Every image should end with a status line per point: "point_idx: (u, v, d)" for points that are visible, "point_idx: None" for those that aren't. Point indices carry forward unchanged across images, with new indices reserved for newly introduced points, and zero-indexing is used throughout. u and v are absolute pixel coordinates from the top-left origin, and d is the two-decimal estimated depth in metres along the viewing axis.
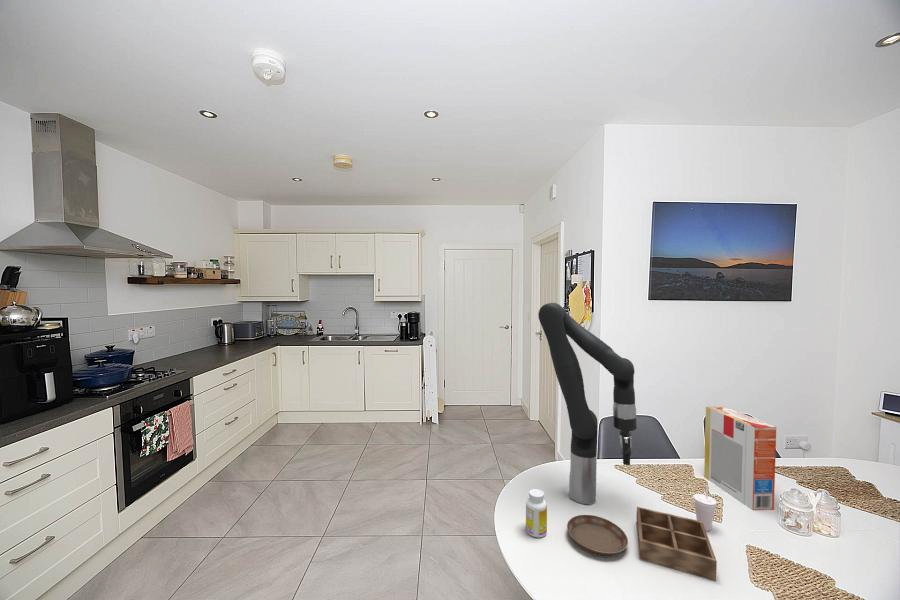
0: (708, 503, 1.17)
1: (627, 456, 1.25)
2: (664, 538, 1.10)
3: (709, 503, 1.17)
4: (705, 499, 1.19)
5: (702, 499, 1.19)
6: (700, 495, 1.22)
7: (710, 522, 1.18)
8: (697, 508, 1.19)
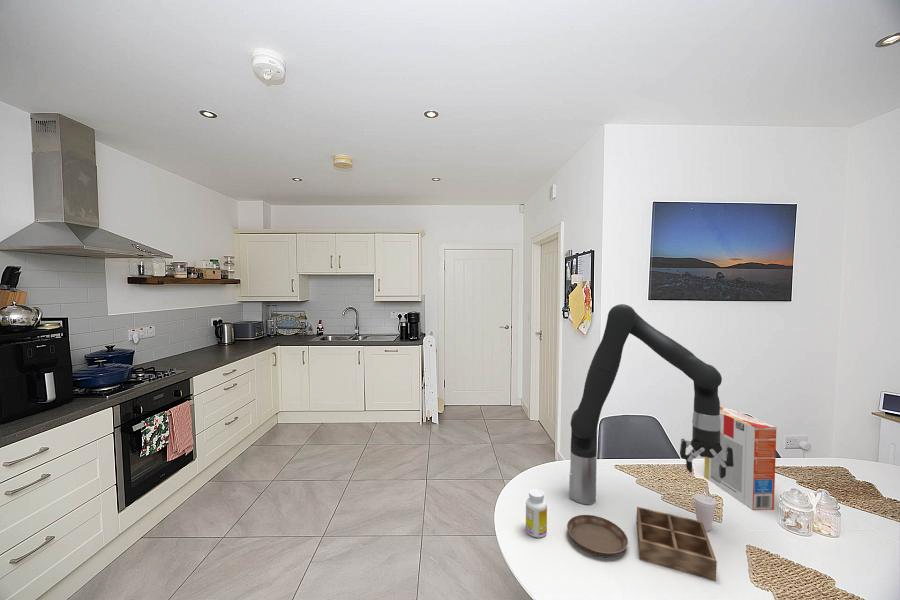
0: (708, 503, 1.17)
1: None
2: (664, 538, 1.10)
3: (709, 503, 1.17)
4: (705, 499, 1.19)
5: (702, 499, 1.19)
6: (700, 495, 1.22)
7: (710, 522, 1.18)
8: (697, 508, 1.19)
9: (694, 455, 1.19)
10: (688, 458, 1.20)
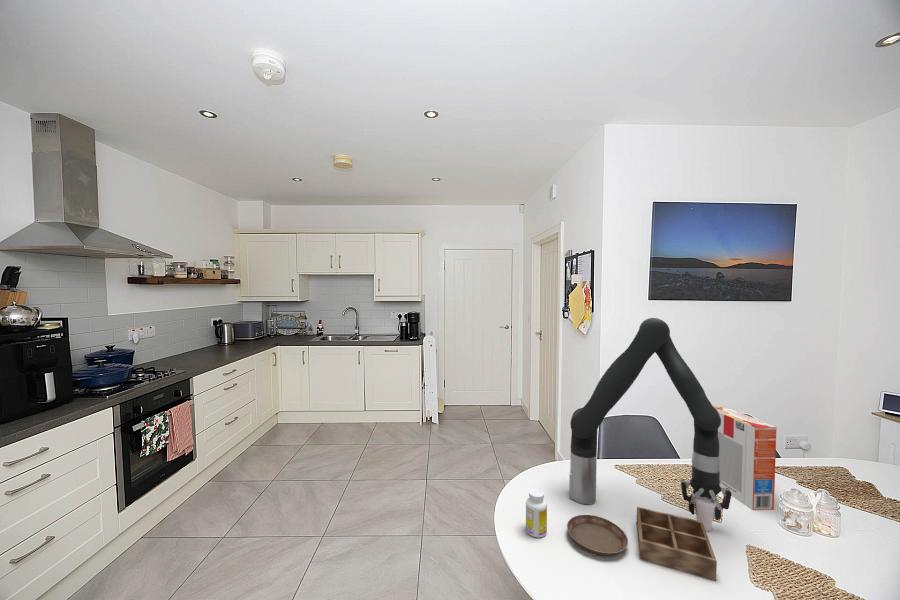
0: (708, 503, 1.17)
1: None
2: (664, 538, 1.10)
3: (709, 503, 1.17)
4: (705, 499, 1.19)
5: (702, 499, 1.19)
6: None
7: (710, 522, 1.18)
8: (697, 508, 1.19)
9: (695, 497, 1.19)
10: (690, 500, 1.20)
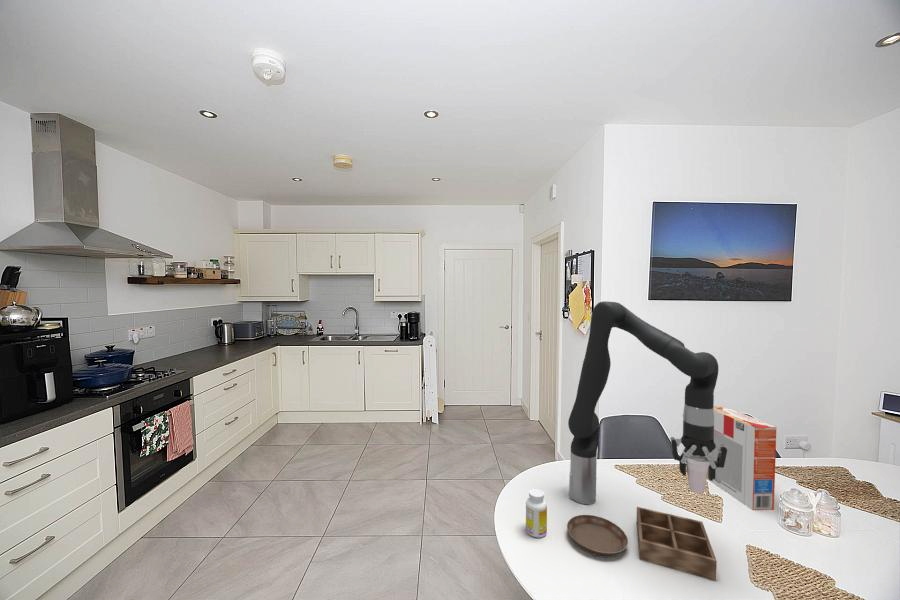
0: (701, 461, 1.04)
1: None
2: (664, 538, 1.10)
3: (702, 461, 1.04)
4: (698, 457, 1.06)
5: (694, 458, 1.06)
6: None
7: (703, 483, 1.05)
8: (689, 468, 1.06)
9: (687, 455, 1.06)
10: (681, 460, 1.07)
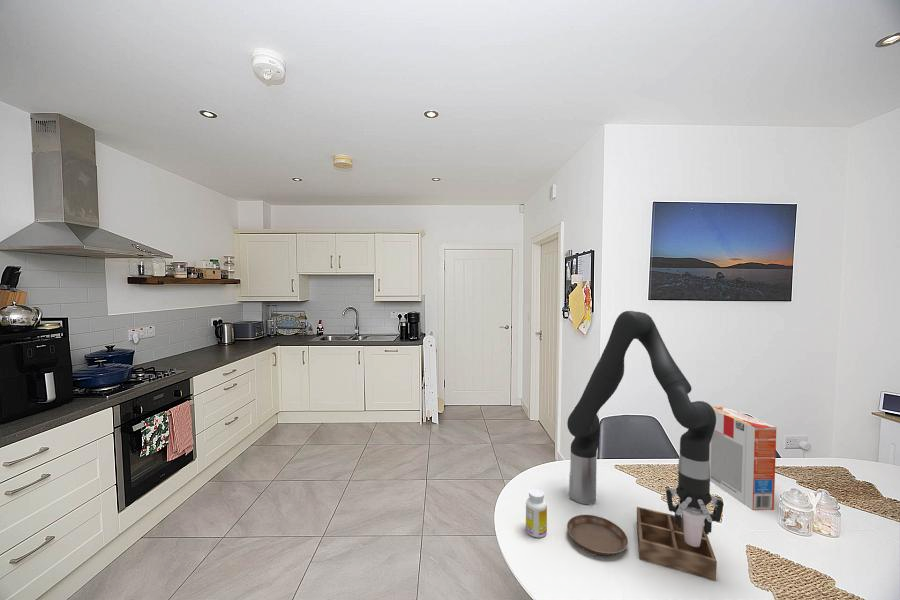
0: (696, 514, 1.01)
1: None
2: (664, 538, 1.10)
3: (698, 514, 1.01)
4: (693, 510, 1.03)
5: (690, 510, 1.03)
6: None
7: (699, 536, 1.02)
8: (684, 520, 1.04)
9: (682, 507, 1.04)
10: (676, 511, 1.05)
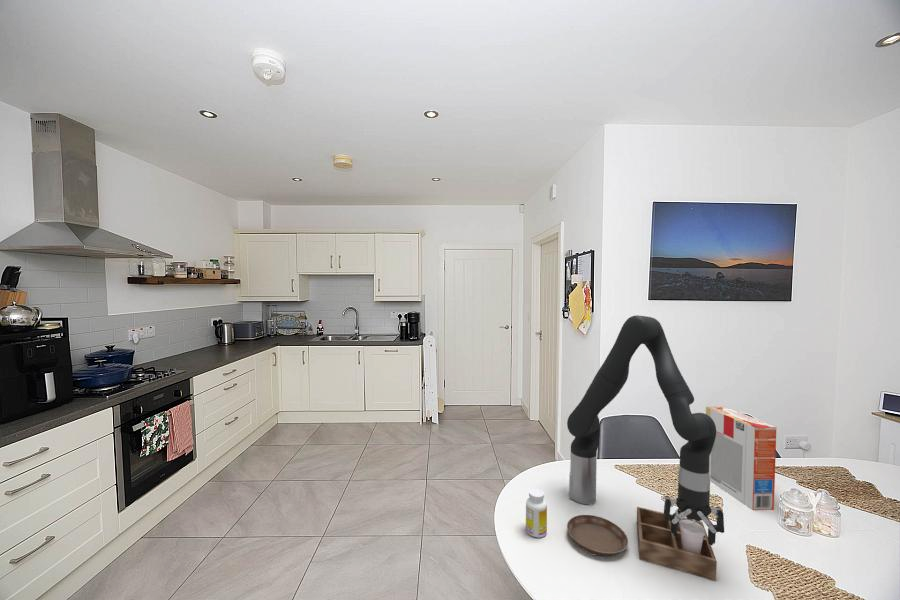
0: (695, 532, 1.02)
1: None
2: (664, 538, 1.10)
3: (697, 532, 1.02)
4: (692, 527, 1.03)
5: (689, 527, 1.04)
6: (687, 521, 1.06)
7: None
8: (683, 537, 1.04)
9: (679, 517, 1.04)
10: (673, 519, 1.05)
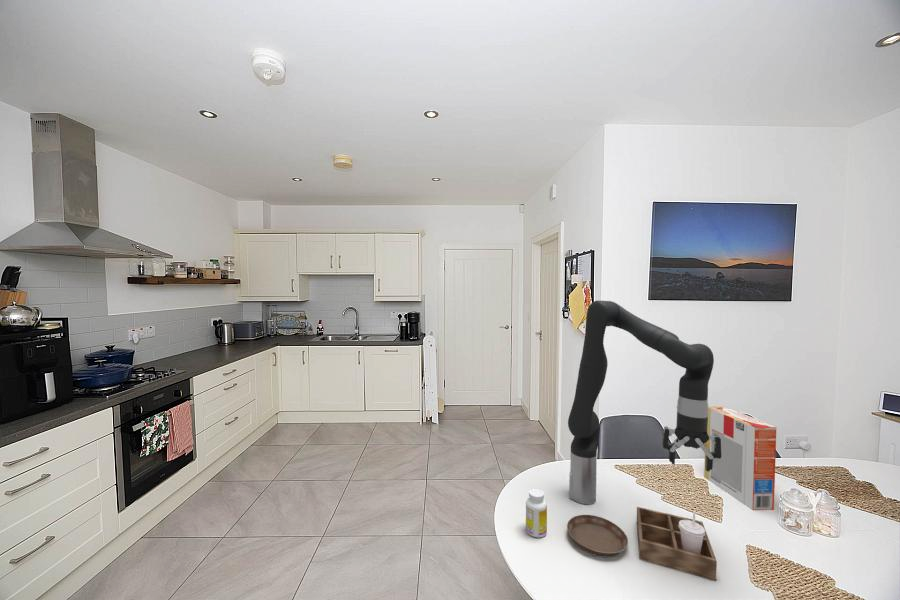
0: (695, 532, 1.02)
1: None
2: (664, 538, 1.10)
3: (696, 532, 1.02)
4: (692, 527, 1.04)
5: (689, 527, 1.04)
6: (686, 521, 1.06)
7: None
8: (683, 537, 1.04)
9: (677, 445, 1.06)
10: (671, 448, 1.07)
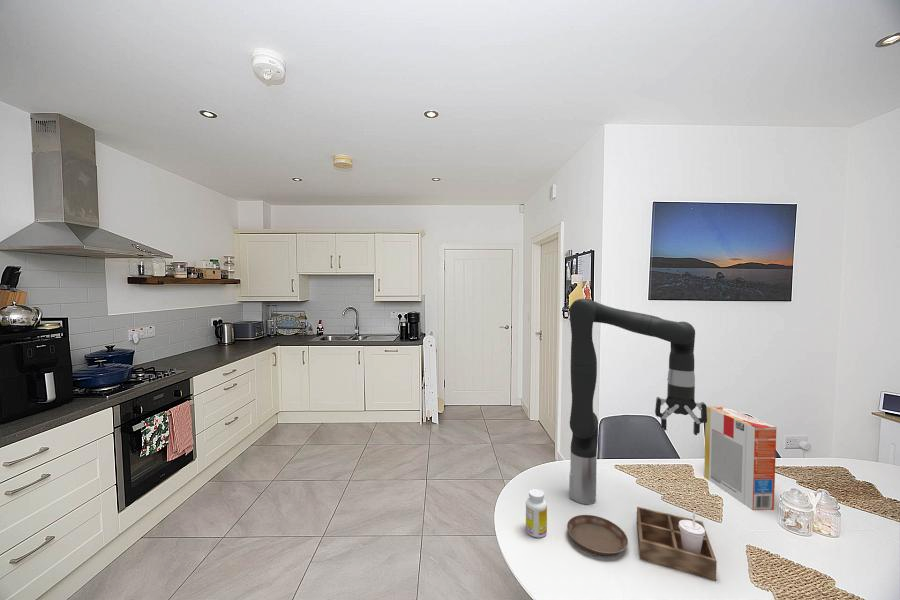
0: (695, 532, 1.02)
1: None
2: (664, 538, 1.10)
3: (696, 532, 1.02)
4: (692, 527, 1.04)
5: (689, 527, 1.04)
6: (687, 521, 1.06)
7: None
8: (683, 537, 1.04)
9: (668, 412, 1.19)
10: (663, 416, 1.20)
